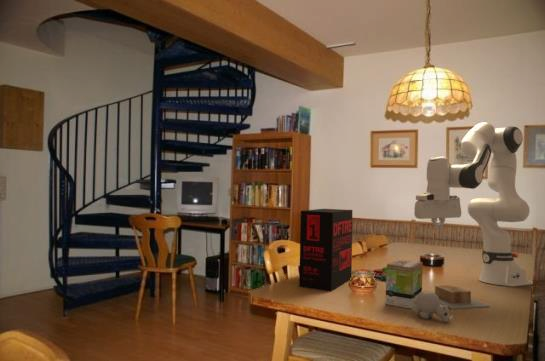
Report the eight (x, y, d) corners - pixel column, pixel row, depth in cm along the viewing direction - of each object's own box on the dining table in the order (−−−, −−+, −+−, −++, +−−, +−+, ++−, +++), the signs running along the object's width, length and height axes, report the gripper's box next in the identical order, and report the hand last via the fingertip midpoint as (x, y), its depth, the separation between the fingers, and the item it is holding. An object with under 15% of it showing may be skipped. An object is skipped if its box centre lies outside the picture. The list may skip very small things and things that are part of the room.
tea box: (413, 309, 141) (413, 267, 141) (384, 304, 146) (385, 263, 146) (422, 300, 154) (423, 260, 154) (395, 295, 159) (396, 258, 159)
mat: (463, 296, 159) (463, 295, 159) (490, 307, 146) (490, 305, 146) (427, 298, 156) (427, 297, 156) (451, 309, 142) (451, 308, 142)
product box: (331, 291, 163) (332, 212, 164) (299, 286, 170) (300, 210, 171) (351, 279, 187) (352, 209, 187) (322, 275, 193) (323, 208, 194)
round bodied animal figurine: (441, 333, 125) (451, 310, 123) (407, 310, 133) (417, 288, 131) (450, 328, 130) (461, 305, 128) (417, 306, 138) (427, 284, 136)
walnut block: (452, 285, 160) (470, 291, 150) (452, 295, 160) (470, 302, 150) (435, 285, 158) (452, 292, 148) (434, 296, 158) (452, 303, 148)
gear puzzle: (387, 269, 214) (388, 261, 214) (418, 274, 204) (418, 266, 204) (360, 278, 190) (360, 270, 191) (392, 284, 180) (392, 275, 180)
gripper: (454, 195, 173) (454, 227, 173) (412, 195, 168) (412, 229, 168) (464, 195, 167) (465, 229, 167) (421, 196, 162) (421, 230, 162)
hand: (438, 229), depth 168 cm, fingers closed
